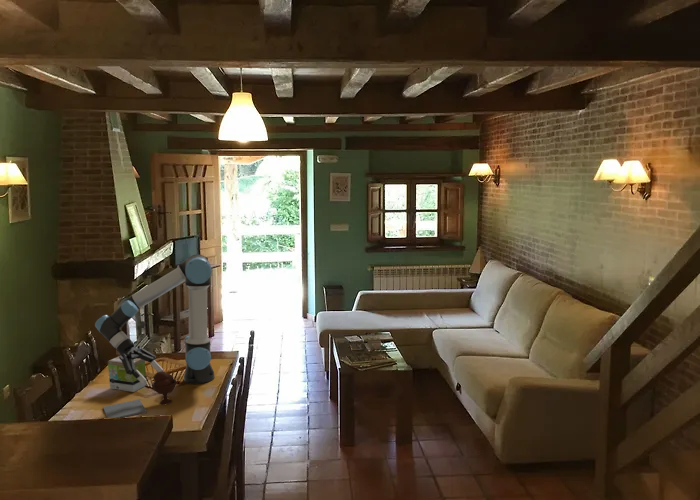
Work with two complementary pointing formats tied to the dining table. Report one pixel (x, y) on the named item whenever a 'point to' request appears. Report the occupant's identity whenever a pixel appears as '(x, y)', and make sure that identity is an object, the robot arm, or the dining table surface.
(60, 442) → the dining table surface
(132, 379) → the tea box
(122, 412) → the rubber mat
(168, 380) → the ice cream bowl
